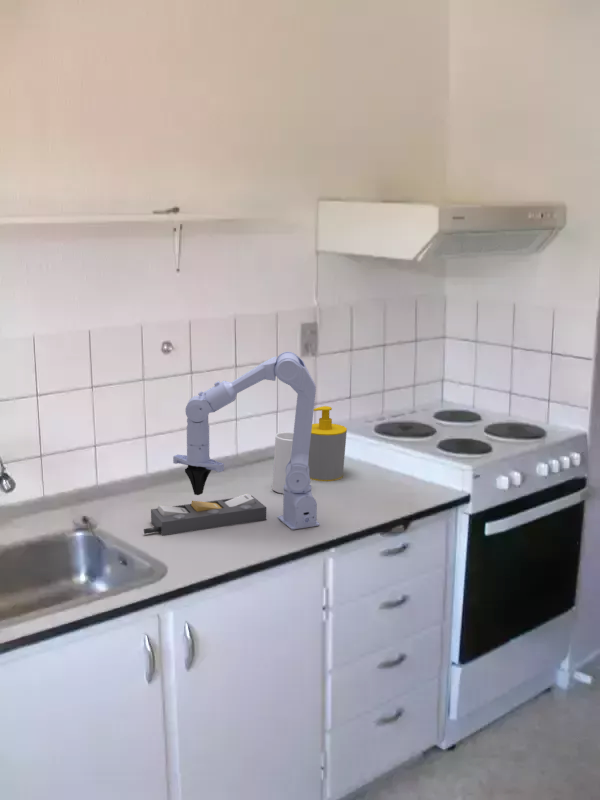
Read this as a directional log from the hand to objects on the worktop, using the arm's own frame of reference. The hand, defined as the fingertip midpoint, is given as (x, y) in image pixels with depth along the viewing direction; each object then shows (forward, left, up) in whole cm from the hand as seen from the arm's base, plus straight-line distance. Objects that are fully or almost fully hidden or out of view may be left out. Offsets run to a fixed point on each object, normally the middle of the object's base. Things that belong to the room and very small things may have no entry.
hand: (198, 493), depth 232 cm
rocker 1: (0, +7, -4) cm, 8 cm away
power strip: (-2, 0, -7) cm, 7 cm away
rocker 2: (0, -11, -4) cm, 12 cm away
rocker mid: (0, -2, -4) cm, 5 cm away
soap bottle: (+21, -47, -7) cm, 52 cm away
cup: (+13, -31, -7) cm, 35 cm away
